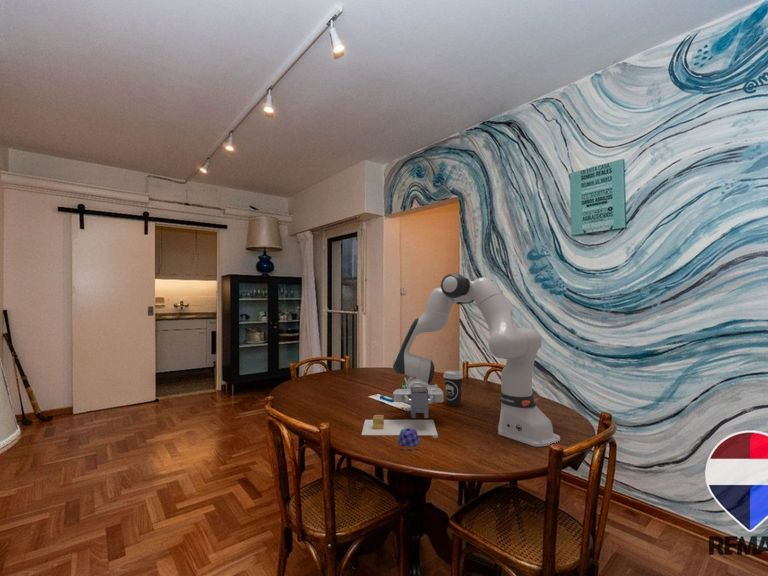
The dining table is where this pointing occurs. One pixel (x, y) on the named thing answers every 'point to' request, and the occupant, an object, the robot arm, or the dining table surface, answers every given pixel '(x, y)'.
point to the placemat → (401, 427)
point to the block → (378, 422)
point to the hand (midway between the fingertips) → (419, 401)
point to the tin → (419, 401)
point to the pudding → (408, 438)
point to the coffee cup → (453, 387)
